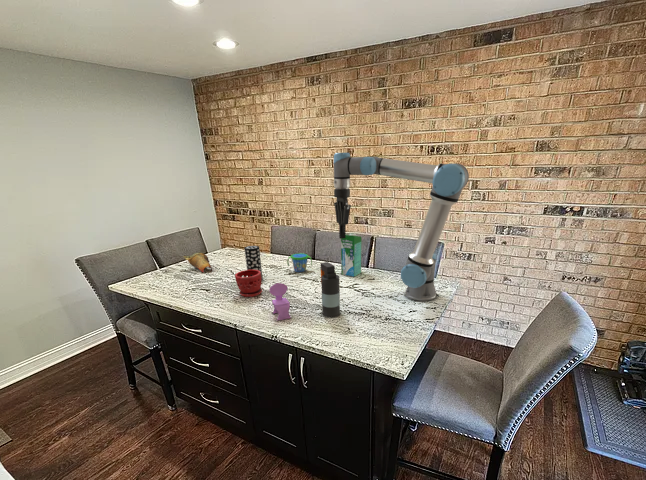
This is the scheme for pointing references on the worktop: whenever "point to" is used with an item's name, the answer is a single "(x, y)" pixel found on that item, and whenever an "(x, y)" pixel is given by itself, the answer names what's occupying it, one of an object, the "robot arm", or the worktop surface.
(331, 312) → the spray bottle
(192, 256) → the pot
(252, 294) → the plant pot
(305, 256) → the snack cup
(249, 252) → the white-spotted black cylinder
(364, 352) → the worktop surface
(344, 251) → the milk carton
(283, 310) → the toy chair
